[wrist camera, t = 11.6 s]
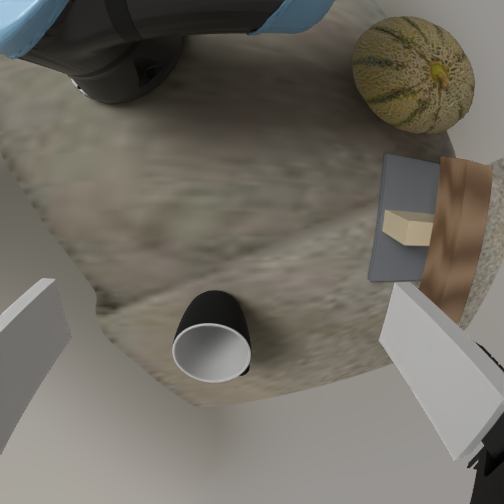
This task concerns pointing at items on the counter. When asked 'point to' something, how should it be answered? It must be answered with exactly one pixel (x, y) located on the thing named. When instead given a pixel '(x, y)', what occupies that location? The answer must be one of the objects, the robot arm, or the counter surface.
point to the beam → (456, 233)
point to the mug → (213, 339)
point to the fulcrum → (404, 219)
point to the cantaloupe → (413, 75)
